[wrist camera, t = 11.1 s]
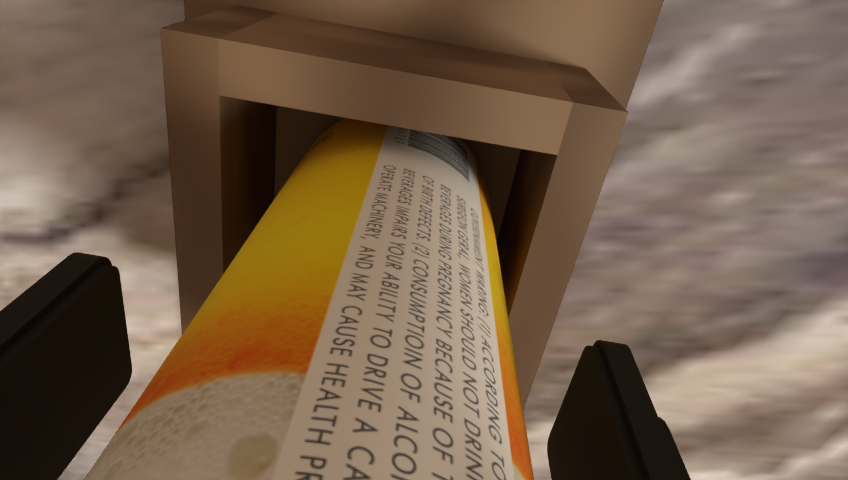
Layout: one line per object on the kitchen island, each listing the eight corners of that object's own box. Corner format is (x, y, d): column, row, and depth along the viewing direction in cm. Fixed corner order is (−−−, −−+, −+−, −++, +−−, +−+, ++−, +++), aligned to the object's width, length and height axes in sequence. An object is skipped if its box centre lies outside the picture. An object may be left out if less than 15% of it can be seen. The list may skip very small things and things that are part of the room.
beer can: (279, 236, 19) (-124, 936, 6) (335, 69, 16) (-206, 670, 3) (441, 297, 20) (426, 1017, 6) (520, 149, 17) (775, 881, 4)
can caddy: (709, -173, 14) (847, -235, 9) (504, 433, 24) (515, 555, 19) (189, -276, 13) (34, -398, 8) (213, 386, 24) (151, 499, 19)
